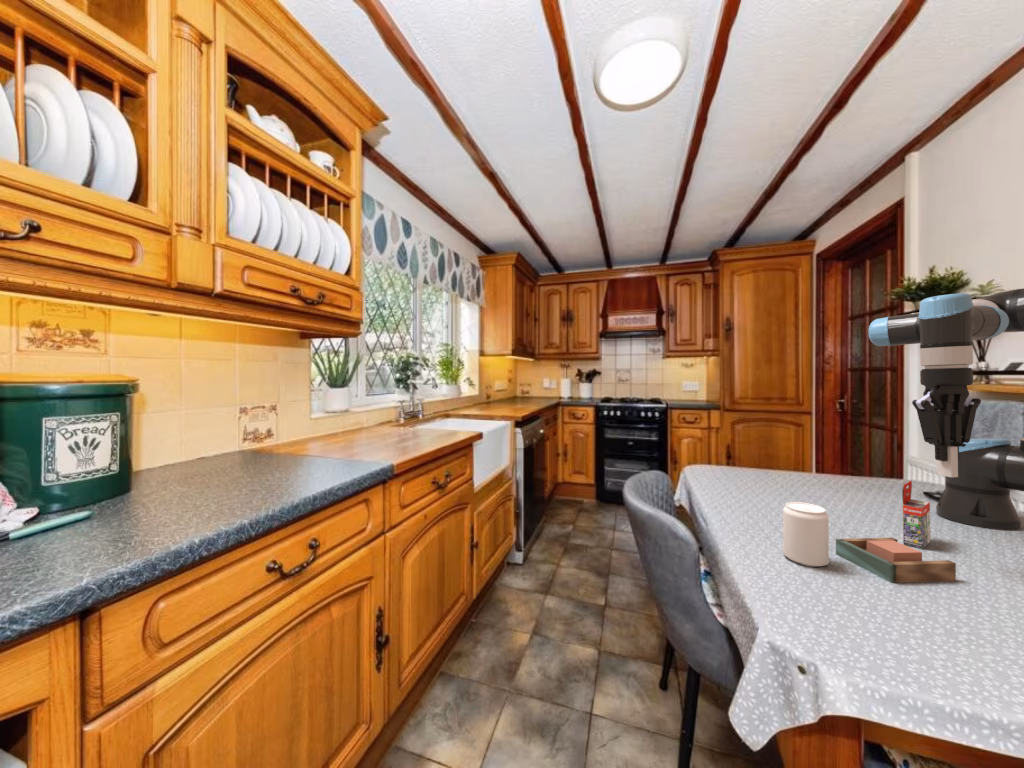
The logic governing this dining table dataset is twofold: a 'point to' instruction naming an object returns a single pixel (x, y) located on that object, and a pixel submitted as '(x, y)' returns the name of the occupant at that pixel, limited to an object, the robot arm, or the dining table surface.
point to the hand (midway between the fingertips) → (947, 475)
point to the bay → (894, 563)
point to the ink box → (915, 519)
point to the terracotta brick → (893, 551)
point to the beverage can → (806, 534)
